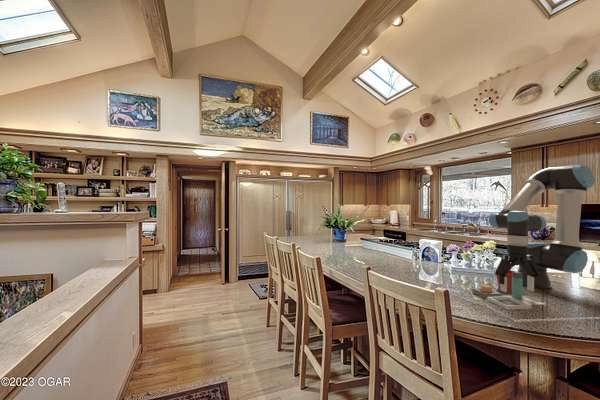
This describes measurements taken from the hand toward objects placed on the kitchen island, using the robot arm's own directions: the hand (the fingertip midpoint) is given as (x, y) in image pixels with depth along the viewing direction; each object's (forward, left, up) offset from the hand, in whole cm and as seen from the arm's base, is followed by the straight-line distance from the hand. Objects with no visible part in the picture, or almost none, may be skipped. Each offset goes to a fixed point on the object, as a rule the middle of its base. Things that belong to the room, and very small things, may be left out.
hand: (517, 290), depth 124 cm
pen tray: (+10, +6, -4) cm, 12 cm away
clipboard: (-2, +1, -4) cm, 5 cm away
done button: (+11, -5, -3) cm, 12 cm away
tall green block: (0, 0, -4) cm, 4 cm away
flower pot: (-8, -13, -5) cm, 16 cm away
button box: (+11, -5, -4) cm, 13 cm away
